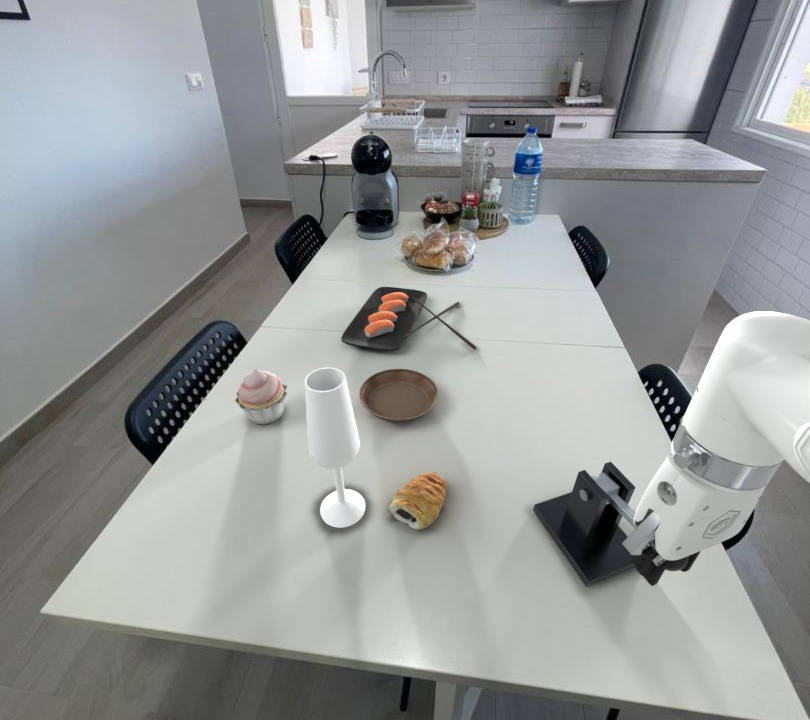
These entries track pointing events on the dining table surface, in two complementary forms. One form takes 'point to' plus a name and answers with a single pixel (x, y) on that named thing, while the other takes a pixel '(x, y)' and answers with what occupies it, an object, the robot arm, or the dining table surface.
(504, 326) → the dining table surface
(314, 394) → the champagne flute
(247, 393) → the cupcake
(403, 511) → the pastry
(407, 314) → the sushi plate
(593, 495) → the black bracket piece
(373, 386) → the saucer
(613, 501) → the tap lever
